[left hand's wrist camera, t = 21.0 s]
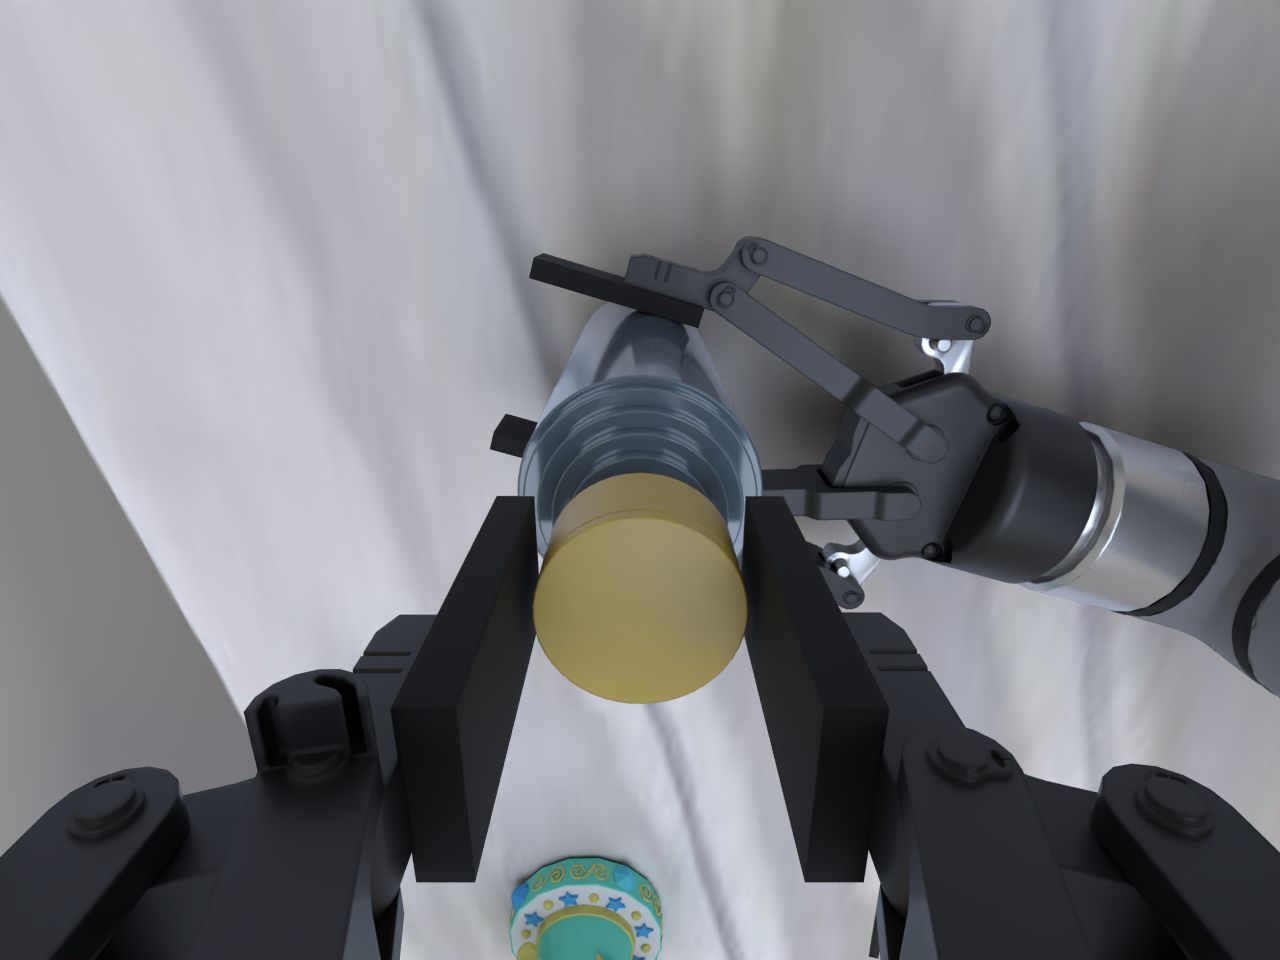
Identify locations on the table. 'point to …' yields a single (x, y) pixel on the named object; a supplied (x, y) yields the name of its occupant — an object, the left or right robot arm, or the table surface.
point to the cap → (640, 590)
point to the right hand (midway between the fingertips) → (517, 351)
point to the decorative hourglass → (586, 914)
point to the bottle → (639, 420)
